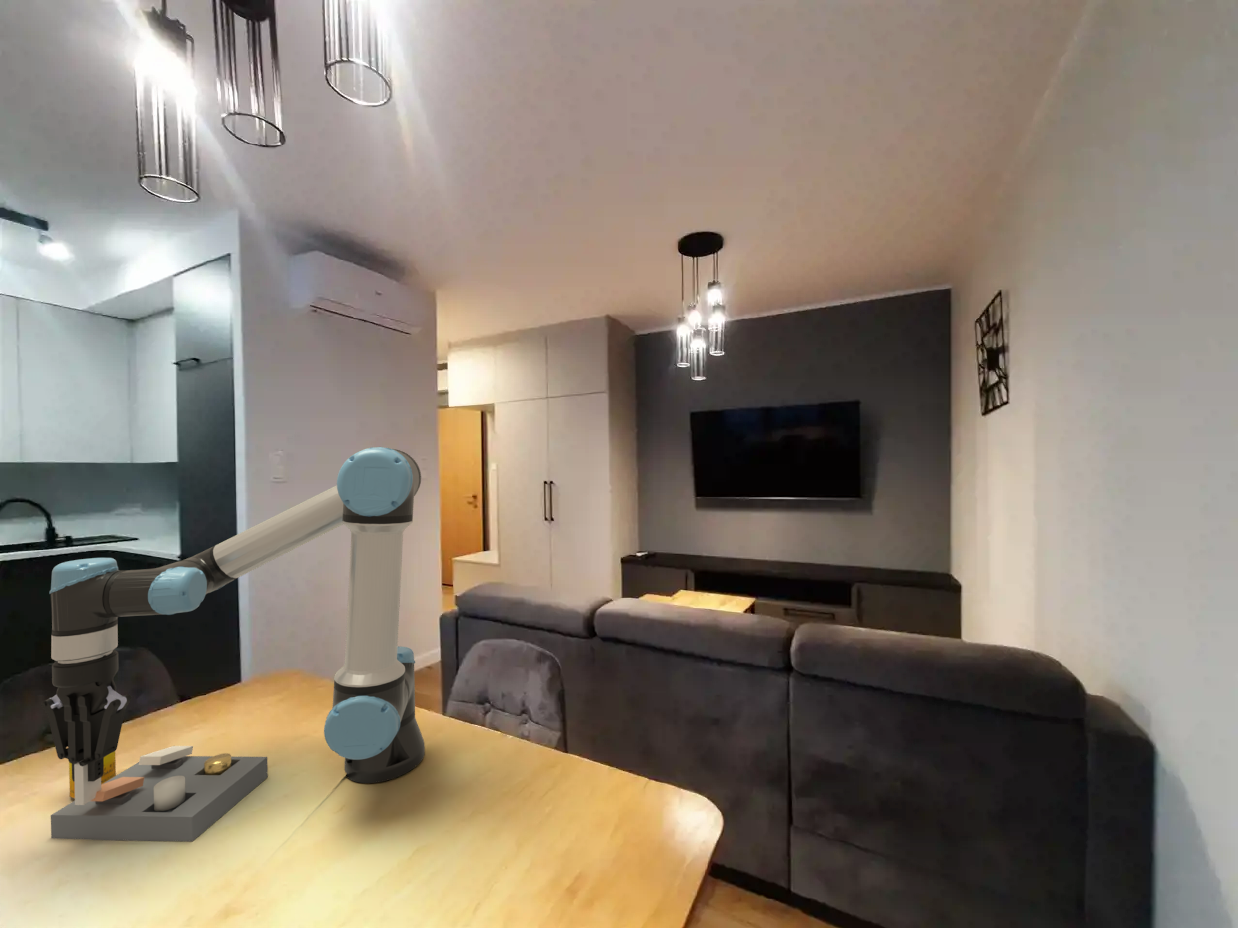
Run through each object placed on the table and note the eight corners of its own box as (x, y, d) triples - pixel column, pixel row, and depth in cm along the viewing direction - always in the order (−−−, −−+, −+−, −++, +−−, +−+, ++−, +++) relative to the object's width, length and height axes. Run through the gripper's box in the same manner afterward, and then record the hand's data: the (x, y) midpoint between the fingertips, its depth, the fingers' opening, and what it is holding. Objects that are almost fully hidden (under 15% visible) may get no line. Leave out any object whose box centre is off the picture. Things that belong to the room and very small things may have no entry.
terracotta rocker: (142, 785, 91) (144, 776, 91) (102, 801, 84) (104, 791, 85) (120, 785, 91) (122, 776, 92) (79, 800, 84) (81, 791, 85)
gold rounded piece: (236, 771, 99) (236, 753, 99) (219, 784, 95) (219, 765, 95) (216, 771, 100) (216, 753, 100) (199, 784, 96) (198, 765, 96)
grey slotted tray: (267, 776, 101) (267, 751, 101) (192, 841, 84) (191, 810, 84) (149, 775, 102) (148, 750, 102) (51, 839, 85) (50, 808, 85)
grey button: (191, 795, 89) (191, 775, 89) (170, 811, 85) (170, 790, 85) (169, 795, 90) (168, 775, 90) (147, 811, 86) (147, 790, 86)
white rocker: (191, 753, 101) (193, 745, 101) (159, 764, 94) (161, 756, 95) (172, 753, 101) (173, 745, 101) (138, 764, 94) (140, 756, 95)
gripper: (146, 646, 87) (148, 785, 88) (73, 646, 88) (75, 784, 88) (100, 664, 80) (102, 815, 80) (20, 663, 80) (22, 814, 81)
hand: (88, 799), depth 84 cm, fingers closed, pressing on terracotta rocker
